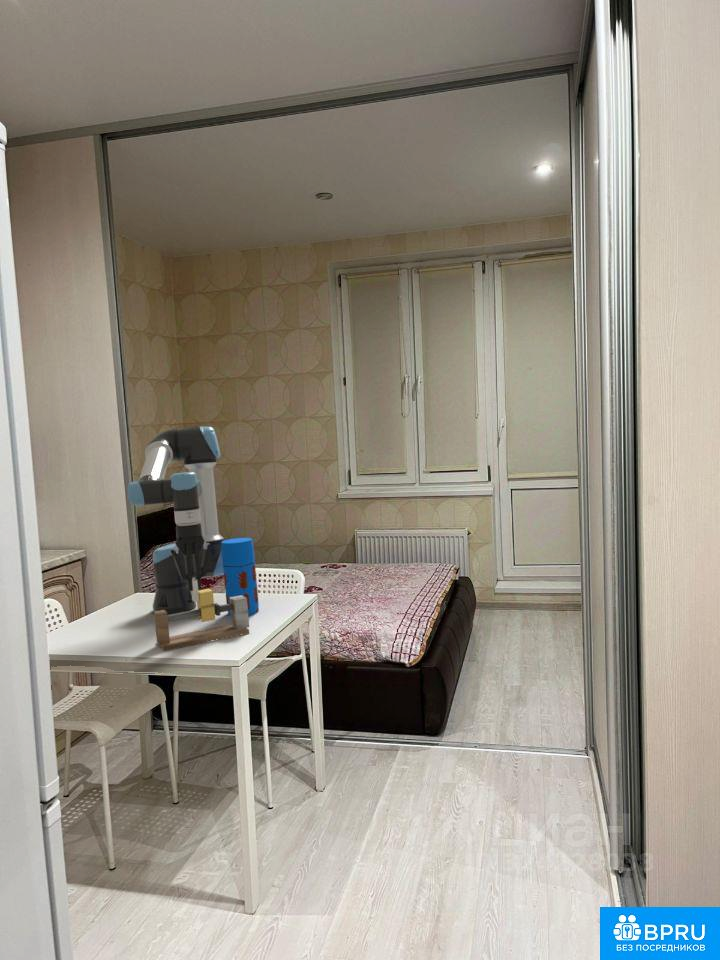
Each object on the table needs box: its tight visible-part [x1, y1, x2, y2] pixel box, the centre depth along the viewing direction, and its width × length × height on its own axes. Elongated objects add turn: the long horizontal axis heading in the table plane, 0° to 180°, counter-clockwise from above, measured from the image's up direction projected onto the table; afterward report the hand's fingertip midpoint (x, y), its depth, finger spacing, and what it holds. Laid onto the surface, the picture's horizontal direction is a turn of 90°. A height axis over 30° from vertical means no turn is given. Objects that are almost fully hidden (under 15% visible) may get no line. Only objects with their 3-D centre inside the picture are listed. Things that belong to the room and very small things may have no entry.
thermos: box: [221, 537, 260, 617], centre depth 257 cm, size 11×11×25 cm
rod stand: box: [153, 595, 250, 651], centre depth 229 cm, size 10×28×10 cm, turn 117°
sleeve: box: [196, 588, 216, 623], centre depth 229 cm, size 4×4×9 cm
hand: (195, 600), depth 228 cm, fingers closed
